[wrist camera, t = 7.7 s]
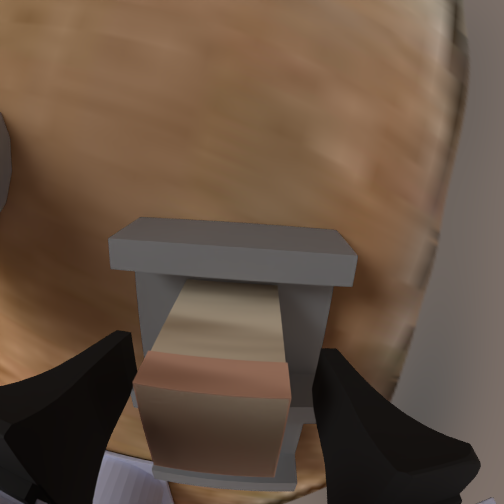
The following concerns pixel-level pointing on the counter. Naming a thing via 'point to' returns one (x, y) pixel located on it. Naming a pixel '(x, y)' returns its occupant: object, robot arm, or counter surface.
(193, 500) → the counter surface
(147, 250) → the gray i-beam stand
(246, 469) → the peg
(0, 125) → the cup
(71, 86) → the counter surface
